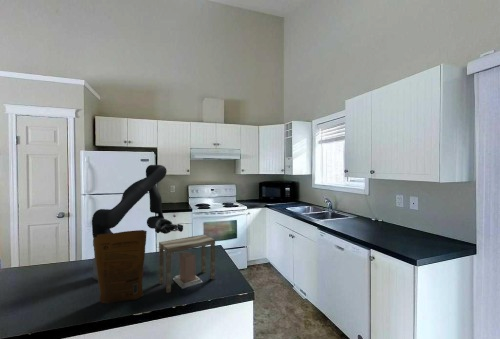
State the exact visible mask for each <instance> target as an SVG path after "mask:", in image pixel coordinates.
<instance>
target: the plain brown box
mask: <svg viewBox="0 0 500 339" xmlns="http://www.w3.org/2000/svg"><path fill="white" fill-rule="evenodd" d="M179 275H180V280H181V281H183V282H184V283H187V282H190V281H194V280H195V275H196V255H195V254H194V253H192V252H191V251H186V252H182V253H179Z"/></svg>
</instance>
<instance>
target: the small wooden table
mask: <svg viewBox="0 0 500 339" xmlns="http://www.w3.org/2000/svg"><path fill="white" fill-rule="evenodd" d="M207 246H210V279H211V280H215V279H216V238H215V239H214V238H213V237H210V236H208V235H207V234H200V235H199V234H198V235H193V236H187V237H181V238H175V239H170V240H164V241H159V242H158V253H159V254H158V260H159V261H158V263H159V264H158V265H159V266H158V281H159V282H158V283H159V285H163V284H164V252H165V256H166V258H165V259H166V260H165V262H166V264H165V266H166V267H165V268H166V269H165V270H166V271H165V277H166V281H165V282H166V284H165V285H166V286H165V289H166V290H165V292H166V293H167V294H168V293H169V294H170V293H171V292H172V253H177V252H181V251H187V250H190V249H196V248H201V272H202V274H203V273H206V265H207V264H206V247H207Z"/></svg>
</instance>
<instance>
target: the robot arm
mask: <svg viewBox="0 0 500 339" xmlns="http://www.w3.org/2000/svg"><path fill="white" fill-rule="evenodd" d="M166 175H167V168H166V166H164V165H161V164H150V165H147V167H146V168H145V177H143V178H141V179H139V180H137V181H135V182H133V183H131V184H130V185H129V186H128V187H127V188H126V189H125V190H124V191H123V193H122V196H121V200H120V202H118V203H117V204H116V205H115V206H114V207H113V208H111V209H109V208H108V209H107V208H106V209H105V208H100V209H97V210H96V211H95V212H94V213H93V215H92V217H91V232H92V238H97V235H100V234H110V233H113V231H112V230H111V229H113V228H115V227H116V226H118V225H119V223H120V222H122V220H123V218H124V217H126V215H127V213H128V212H130V211H131V209H132V208H134V206H135V205H137V203H138V202H139V201H140V200H141V199H142V198H143V197H145V196H146V194H149V195H148V196H149V211H150V213H153V214H157V215H153V216H149V217H148V218H147V219H146V225H147V227H148V228H150V229H153V230H154V232H155V233H157V234H159V233H161V234H165V235H166V234H169V233H171V232H177V231H178V232H183V231H184V224H183V225H182V224H181V223H178V224H173V222H172V221H171V220H169V219H166V218H165V217H164V213H163V209H162V208H163V205H162V202H163V201H162V196H161V194H160V191H159V190H158V188H157V184H158V183H159V182H161V181H162V180H163V179H165V177H166ZM92 279H93V280H95V281H97V282H98V275H97V270H96V263H95V257H93V258H92Z"/></svg>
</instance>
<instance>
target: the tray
mask: <svg viewBox="0 0 500 339" xmlns="http://www.w3.org/2000/svg"><path fill="white" fill-rule="evenodd" d="M172 280H173V281H174V282H175V283H176V284H177V285H178V286H179V287H180V288H181V289H186V288H190V287H193V286H196V285H200V284H202V283H204V281H203V280H202V279H201V278H200V277H199V276H197V275H196V274H195V280H194V281H190V282H187V283H184V282H183V281H181V280H180V274H178V275H175V276H174V277H173V278H172Z"/></svg>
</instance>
